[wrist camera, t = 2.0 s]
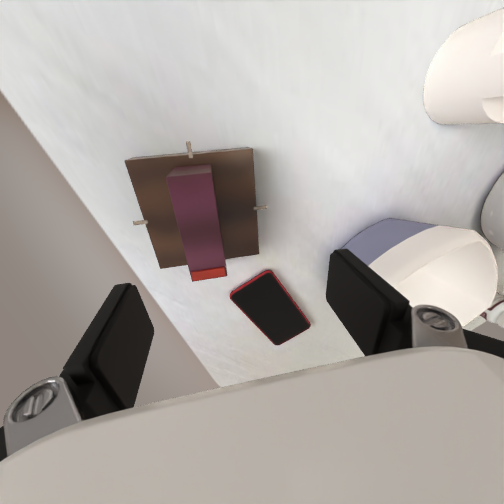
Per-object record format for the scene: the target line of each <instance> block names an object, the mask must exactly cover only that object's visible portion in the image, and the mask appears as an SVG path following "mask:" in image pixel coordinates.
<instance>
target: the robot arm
mask: <svg viewBox="0 0 504 504" xmlns="http://www.w3.org/2000/svg"><path fill="white" fill-rule="evenodd" d="M326 299H327V302H328V303H329V305H330V306H331V308H332V309H333V311H334V312H335V313H336V315H337V316H338V318H339V319H340V321H341V322H342V323H343V325H344V326H345V328H346V329H347V331H348V332H349V333H350V335H351V336H352V338H353V339H354V341H355V342H356V343H357V345H358V346H359V348H360V349H361V351H362V352H363V353H364V355H365V357H360V358H355V359H350V360H346V361H341V362H336V363H332V364H327V365H322V366H317V367H313V368H308V369H303V370H299V371H294V372H290V373H285V374H280V375H276V376H271V377H267V378H262V379H257V380H253V381H248V382H244V383H239V384H235V385H230V386H225V387H221V388H216V389H212V390H208V391H203V392H199V393H194V394H190V395H185V396H181V397H177V398H172V399H167V400H163V401H158V402H154V403H150V404H146V405H142V406H138V407H134V404H135V400H136V397H137V393H138V389H139V386H140V382H141V379H142V375H143V371H144V368H145V364H146V361H147V357H148V353H149V350H150V346H151V342H152V339H153V335H154V327H153V325H152V322H151V320H150V318H149V315H148V313H147V311H146V308H145V306H144V304H143V301H142V299H141V296H140V294H139V292H138V290H137V287H136V286H135V285H131V283H125V284H118V285H115V286H114V287H113V289H112V290H111V292H110V294H109V295H108V297H107V298H106V300H105V302H104V303H103V305H102V307H101V308H100V310H99V311H98V313H97V314H96V316H95V318H94V319H93V321H92V322H91V324H90V326H89V327H88V329H87V330H86V332H85V334H84V335H83V337H82V338H81V340H80V342H79V343H78V345H77V346H76V348H75V350H74V351H73V353H72V354H71V356H70V358H69V359H68V361H67V362H66V364H65V366H64V367H63V369H64V370H63V371H62V373H61V374H60V376H59V377H50V378H47V379H44V380H41V381H39V382H38V383H36V384H34V385H32V386H31V387H29V388H28V389H27V390H25V391H24V392H23V393H21V394H20V395H19V396H18V397H17V398H16V399H15V400H14V401H13V403H12V404H11V405H10V406H9V408H8V409H7V412H6V413H5V416H4V421H3V424H4V426H2V427H1V428H0V504H504V341H501V340H497V339H494V338H491V337H488V336H484V335H481V334H478V333H475V332H472V331H468V330H465V329H462V326H461V324H460V322H459V320H458V319H457V318H456V317H455V316H454V315H452V314H451V313H449V312H448V311H446V310H444V309H442V308H439V307H436V306H432V305H417V306H415V307H412V306H411V305H409V302H410V301H409V300H408V299H407V298H406V297H404V296H403V295H402V294H401V293H400V292H398V291H397V290H396V289H395V288H394V287H392V286H391V285H390V284H389V283H388V282H386V281H385V280H384V279H383V278H382V277H381V276H379V275H378V274H377V273H376V272H375V271H373V270H372V269H371V268H370V267H369V266H367V265H366V264H365V263H364V262H363V261H361V260H360V259H359V258H358V257H357V256H355V255H354V254H353V253H352V252H351V251H350V250H348V249H347V248H345V249H338V250H334V252H333V253H332V254H331V255H330V262H329V271H328V280H327V289H326Z"/></svg>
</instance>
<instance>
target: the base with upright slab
mask: <svg viewBox="0 0 504 504" xmlns="http://www.w3.org/2000/svg"><path fill="white" fill-rule="evenodd" d="M423 103H424V106H425V110H426V113H427V114H428V116H429V117H430V119H431V120H433V121H435V122H436V123H439V124H445V125H446V124H485V123H504V8H502V9H499V10H497V11H494V12H492V13H490V14H487V15H485V16H482V17H480V18H478V19H475V20H473V21H471V22H469V23H467V24H465V25H463V26H461V27H459V28H458V29H457V30H456V31H455V32H454V33H452V34H451V35H450V36H449V37H448V38H447V40H446V41H445V42H444V43H443V45H442V46H441V47H440V48H439V50H438V52H437V53H436V55H435V57H434V59H433V60H432V62H431V65H430V67H429V70H428V73H427V75H426V79H425V84H424V89H423Z"/></svg>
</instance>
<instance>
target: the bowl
mask: <svg viewBox="0 0 504 504" xmlns="http://www.w3.org/2000/svg"><path fill="white" fill-rule="evenodd" d="M345 248H347V249H348V250H350V251H351V252H352V253H353V254H354V255H355V256H357V257H358V258H359V259H360V260H361V261H363V262H364V263H365V264H366V265H367V266H369V267H370V268H371V269H372V270H373V271H375V272H376V273H377V274H378V275H379V276H381V277H382V278H383V279H384V280H385V281H386V282H388V283H389V284H390V285H391V286H392V287H394V288H395V289H396V290H397V291H398V292H400V293H401V294H402V295H403V296H404V297H406V298H407V299H408V300H409V301H410V302H409V305H411V306H412V307H415V306H417V305H432V306H436V307H439V308H442V309H444V310H446V311H448V312H449V313H451V314H452V315H454V316H455V317H456V318H457V319H458V320H459V322H460V324H461V326H462V327H463V326H464V325H466V324H467V323H469V322H470V321H472V320H473V319H475V318H476V317H478V316H479V315H480V314H481V313H483V312H484V311H485V310H486V309H488V308H489V307H490V306H491V304H492V302H493V299H494V297H495V295H496V289H497V283H498V268H497V263H496V259H495V256H494V254H493V252H492V249H491V247H490V245H489V243H488V242H487V241H486V240H485V239H484V238H483V237H482V236H481V235H479V234H478V233H477V232H476V231H474V230H469V229H462V228H455V227H448V226H442V225H440V226H439V225H432V224H426V223H419V222H412V221H406V220H399V219H392V218H389V219H385V220H382V221H380V222H378V223H376V224H374V225H372V226H370V227H368V228H367V229H365V230H364V231H362V232H360V233H359V234H358V235H356V236H355V237H354V238H352V239H351V240H350V241H349V242H348V243H347V244H346V245H345V246H344V247H343V248H341V249H345Z"/></svg>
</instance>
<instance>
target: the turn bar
mask: <svg viewBox="0 0 504 504" xmlns="http://www.w3.org/2000/svg"><path fill="white" fill-rule="evenodd" d="M166 181H167V185H168V189H169V193H170V197H171V201H172V204H173V208H174V212H175V216H176V220H177V224H178V228H179V232H180V236H181V240H182V244H183V247H184V251H185V255H186V259H187V263H188V267H189V271H190V275H191V279H192V281H199V280H205V279H212V278H218V277H224V276H227V269H226V261H225V253H224V247H223V240H222V234H221V227H220V220H219V214H218V207H217V201H216V194H215V188H214V181H213V175H212V168H211V164H206V165H196V166H186V167H175V168H174V169H173V170H172V171H171V172H170V173H169V174H168V175H167V176H166Z"/></svg>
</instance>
